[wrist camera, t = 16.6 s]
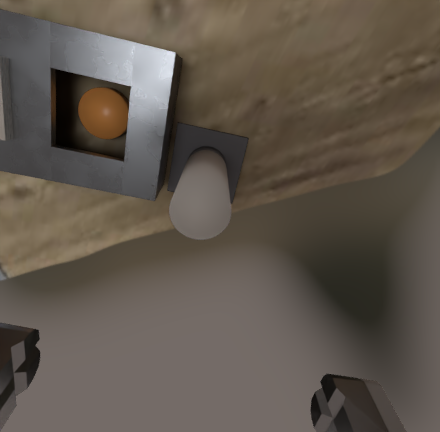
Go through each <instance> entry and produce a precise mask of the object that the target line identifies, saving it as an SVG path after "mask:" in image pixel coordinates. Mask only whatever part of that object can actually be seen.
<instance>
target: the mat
mask: <svg viewBox="0 0 440 432" xmlns="http://www.w3.org/2000/svg"><path fill="white" fill-rule="evenodd" d="M247 143H248V138H246V137H242V136H237V135H233V134H228V133H224V132H219V131H215V130H210V129H206V128H201V127H197V126H192V125H188V124H183V123H179V122H178V125H177V132H176V138H175V144H174V151H173V157H172V164H171V170H170V177H169V183H168V189H167V191H171V192H175V190H176V187H177V185H178V182H179V180H180V177H181V175H182V172H183V170H184V167H185V165H186V162H187V160H188V157H189V155H190V154H191V153H192V152H193V151H194V150H195V149H197V148H199V147H202V146H210V147H214V148H216V149H217V150H219V151H220V152H221V153H222V154H223V156H224V158H225V161H226V168H227V176H228V185H229V194H230V203H231V204H232V202H233V198H234V194H235V190H236V187H237V183H238V179H239V175H240V171H241V167H242V163H243V159H244V155H245V151H246V147H247Z"/></svg>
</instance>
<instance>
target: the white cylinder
mask: <svg viewBox="0 0 440 432" xmlns="http://www.w3.org/2000/svg"><path fill="white" fill-rule="evenodd" d="M169 215H170V219H171V221H172V223H173V225H174V227H175V228H176V229H177V230H178V231H179V232H180V233H181V234H183V235H185V236H187V237H189V238H192V239H197V240H205V239H210V238H213V237H215V236H217V235H219V234H220V233H221V232H223V231H224V229H225V228H226V227H227V225H228V224H229V221H230V218H231V203H230V194H229V185H228V176H227V168H226V161H225V158H224V156H223V154H222V153H221V152H220V151H219V150H217V149H216V148H214V147H210V146H202V147H199V148H197V149H195V150H194V151H193V152H192V153H191V154H190V155H189V157H188V160H187V162H186V165H185V167H184V170H183V172H182V175H181V177H180V180H179V182H178V185H177V187H176V190H175V192H174V195H173V197H172V199H171V202H170V206H169Z"/></svg>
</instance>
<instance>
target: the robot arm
mask: <svg viewBox="0 0 440 432" xmlns="http://www.w3.org/2000/svg"><path fill="white" fill-rule="evenodd" d="M39 339H40V338H39V330H37V329H33V328H27V327H21V326H16V325H10V324H5V323H0V431H1V429H2V428H3V426H4V424H5V423H6V421H7V420H8V418H9V417H10V415H11V413H12V412H13V410H14V409H15V407H16V396H17V395H18V394H20V393H21V392H23V391H24V390H26V389H27V388H28V387H29V385H30V383H31V382H32V380H33V378H34V376H35V374H36V371H37V369H38V366H39V362H40V350H39V349H38V348H37V347H36V346H35V345H36V344H37V342H38V341H39ZM320 382H321V385H322V388H321V389H319V390H317V391H316V392H315V393H314V395H313V397H312V400H311V418H312V422H313V426H314V429H315V430H316V431H317V432H406V430H405V428H404V426H403V424H402V423H401V421H400V419H399V417H398V415H397V413H396V412H395V410H394V408H393V406H392V405H391V402H390V401H389V399H388V397H387V395H386V393H385V391H384V390H383V388H382V386H381V385H380V384H379V383H378V382H377V381H373V380H366V379H359V378H354V377H347V376H341V375H334V374H326V375H324V376H323V378H322V380H321V381H320Z"/></svg>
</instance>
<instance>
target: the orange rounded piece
mask: <svg viewBox="0 0 440 432" xmlns="http://www.w3.org/2000/svg"><path fill="white" fill-rule="evenodd" d="M78 112H79V117H80V120H81V122H82V124H83V126H84V127H85V128H86V129H87V131H89V132H90V133H91V134H92V135H94V136H96V137H98V138H101V139H113V138H116V137H118V136H120V135H122V134H123V133H125V132H126V131H127V124H128V113H129V102H128V100H127V99H126V97H125V96H124V95H123V94H121V93H120V92H119V91H117V90H115V89H112V88H105V87H102V88H93V89H90V90H88V91H87V92H86V93H85V94H84V95H83V96H82V98H81V99H80V102H79V107H78Z"/></svg>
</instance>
